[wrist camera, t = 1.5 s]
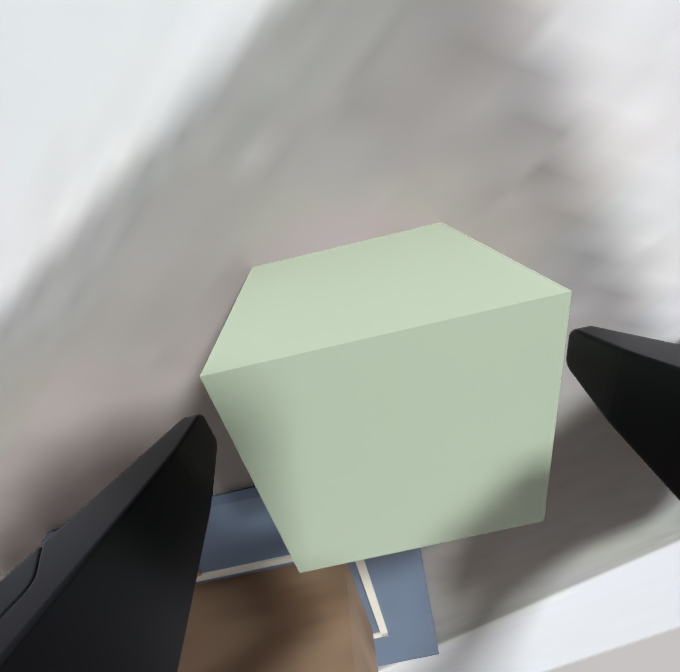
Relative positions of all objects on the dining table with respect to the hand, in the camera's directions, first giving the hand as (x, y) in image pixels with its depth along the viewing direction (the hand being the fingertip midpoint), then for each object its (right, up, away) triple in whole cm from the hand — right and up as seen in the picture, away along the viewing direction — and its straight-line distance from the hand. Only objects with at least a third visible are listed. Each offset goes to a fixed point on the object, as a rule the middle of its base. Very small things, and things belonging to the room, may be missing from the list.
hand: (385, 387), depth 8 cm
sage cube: (0, +1, +3) cm, 3 cm away
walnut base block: (-4, -13, +10) cm, 17 cm away
